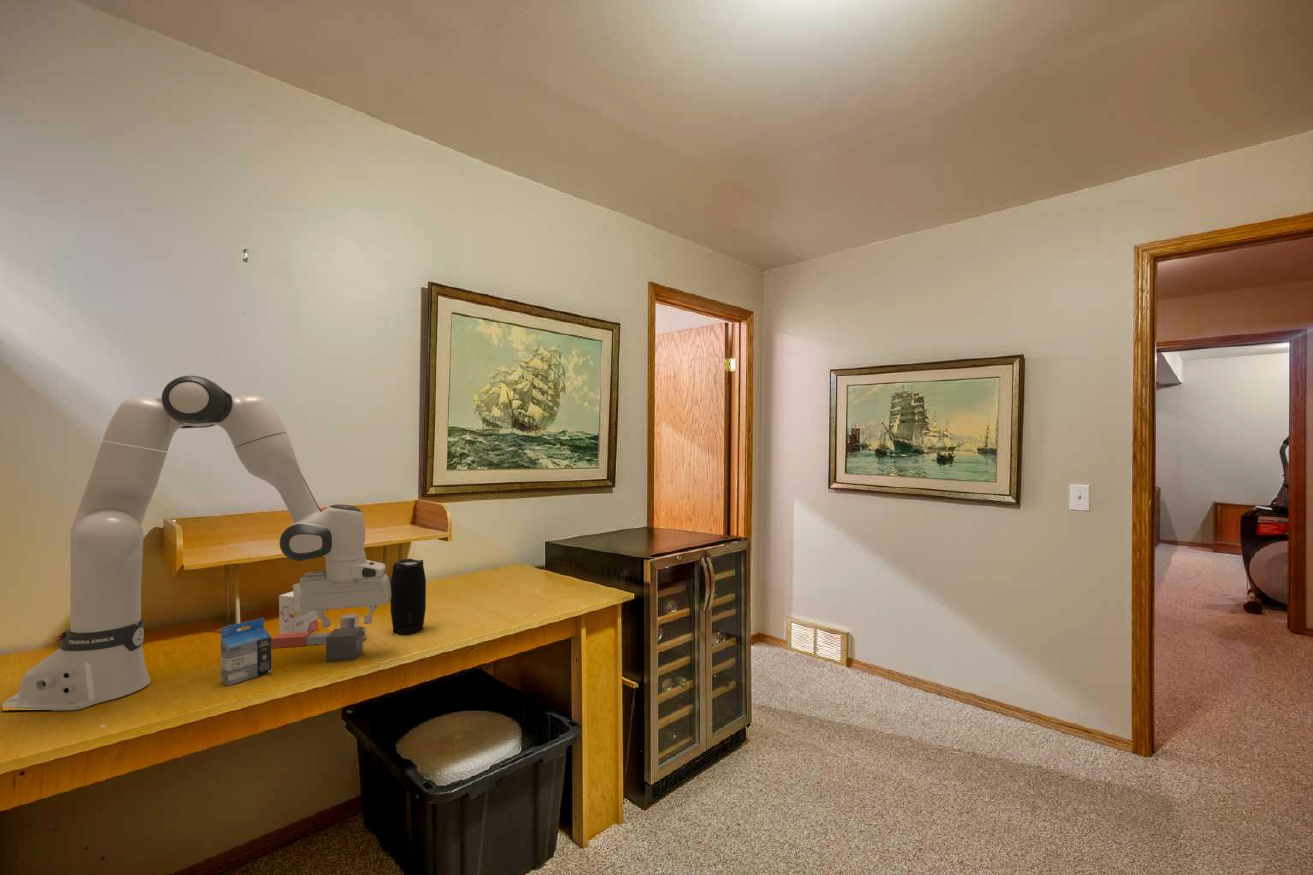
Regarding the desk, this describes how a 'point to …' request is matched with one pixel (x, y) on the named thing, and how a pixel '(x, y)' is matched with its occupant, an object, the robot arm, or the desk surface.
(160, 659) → the desk surface
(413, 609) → the portable speaker
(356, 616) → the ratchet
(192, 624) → the desk surface
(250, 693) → the desk surface
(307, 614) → the ink cartridge box
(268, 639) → the label tape box
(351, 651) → the dark grey block
